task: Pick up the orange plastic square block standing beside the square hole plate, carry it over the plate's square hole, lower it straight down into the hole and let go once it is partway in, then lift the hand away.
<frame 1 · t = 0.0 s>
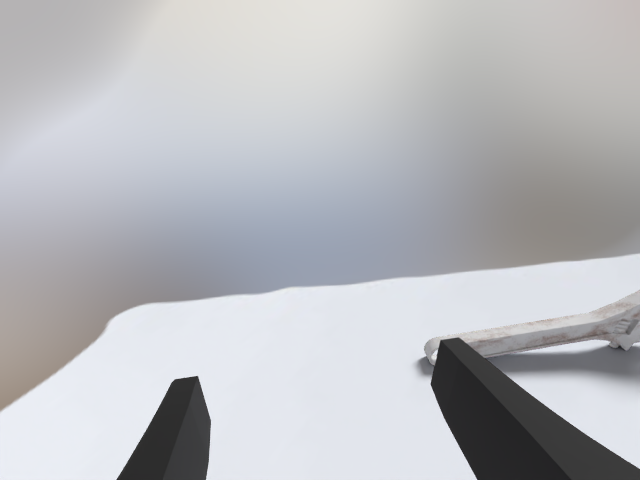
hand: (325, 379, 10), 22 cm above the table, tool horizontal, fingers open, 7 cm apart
wrench: (545, 354, 40), on the table
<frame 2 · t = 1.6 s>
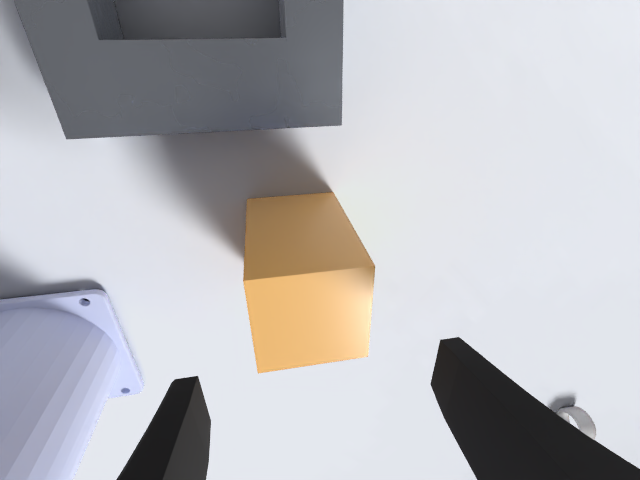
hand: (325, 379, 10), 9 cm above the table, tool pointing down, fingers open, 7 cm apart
square block: (293, 233, 18), on the table
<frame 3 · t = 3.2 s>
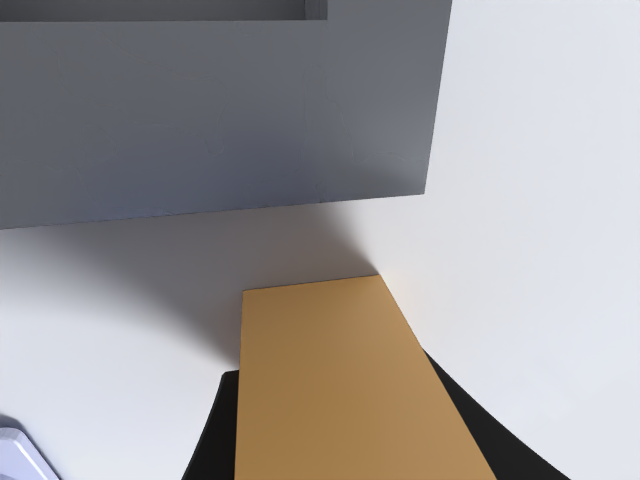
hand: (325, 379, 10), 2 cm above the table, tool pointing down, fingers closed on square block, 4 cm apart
square block: (315, 333, 12), on the table, touching gripper
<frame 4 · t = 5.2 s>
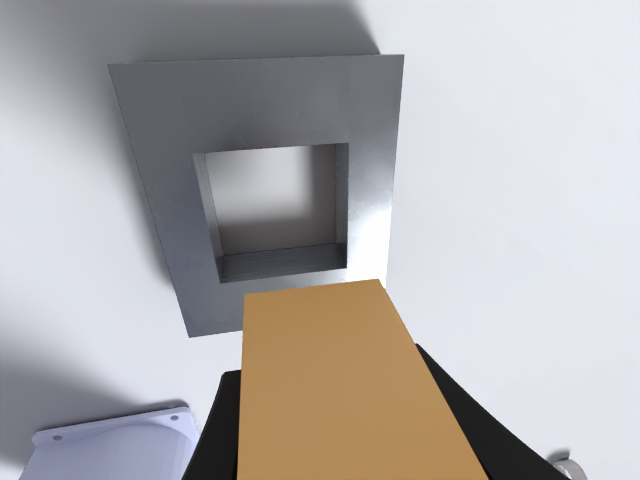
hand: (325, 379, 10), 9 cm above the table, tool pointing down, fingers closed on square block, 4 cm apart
square hole plate: (276, 196, 17), on the table
square block: (315, 335, 12), point 7 cm above the table, touching gripper
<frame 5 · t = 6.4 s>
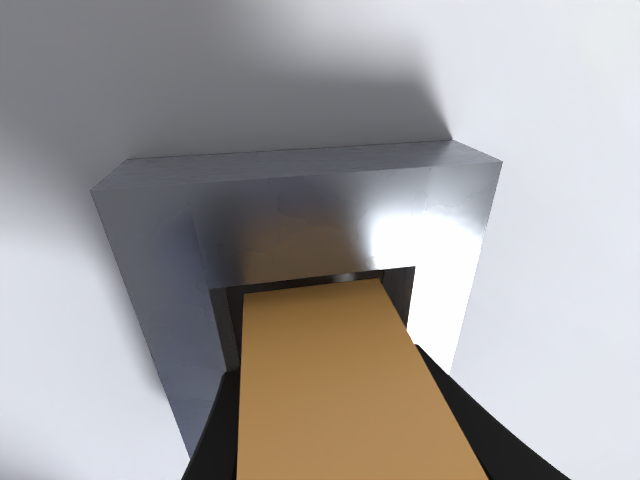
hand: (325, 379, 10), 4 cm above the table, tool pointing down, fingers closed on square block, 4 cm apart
square hole plate: (308, 302, 13), on the table
square block: (314, 335, 12), point 2 cm above the table, touching gripper
when the fingers open (3 cm above the table, at t = 7.3 s): square block drops 1 cm, resting in square hole plate.
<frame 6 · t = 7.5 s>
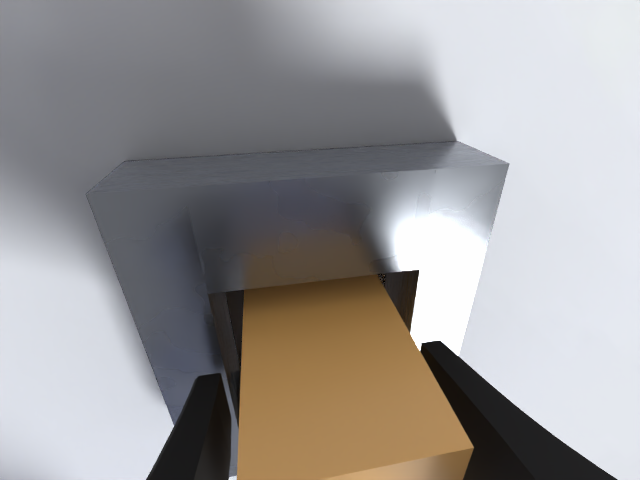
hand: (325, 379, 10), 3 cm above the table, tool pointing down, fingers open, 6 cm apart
square hole plate: (309, 306, 13), on the table
square block: (309, 309, 13), resting in square hole plate
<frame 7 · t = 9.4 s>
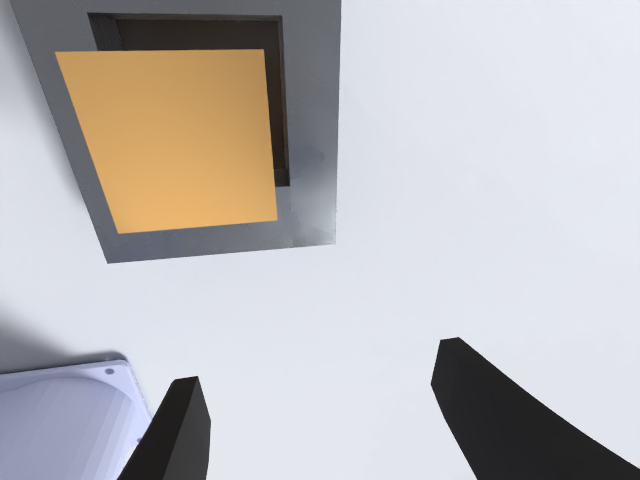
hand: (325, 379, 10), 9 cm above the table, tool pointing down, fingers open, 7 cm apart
square hole plate: (211, 103, 14), on the table
square block: (213, 108, 15), resting in square hole plate
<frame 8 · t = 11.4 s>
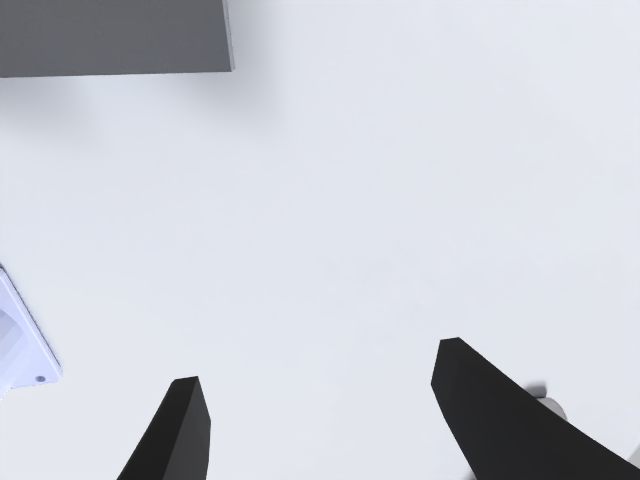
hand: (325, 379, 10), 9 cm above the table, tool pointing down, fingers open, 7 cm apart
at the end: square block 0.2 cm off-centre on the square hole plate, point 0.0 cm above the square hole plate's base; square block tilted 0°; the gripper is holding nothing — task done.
